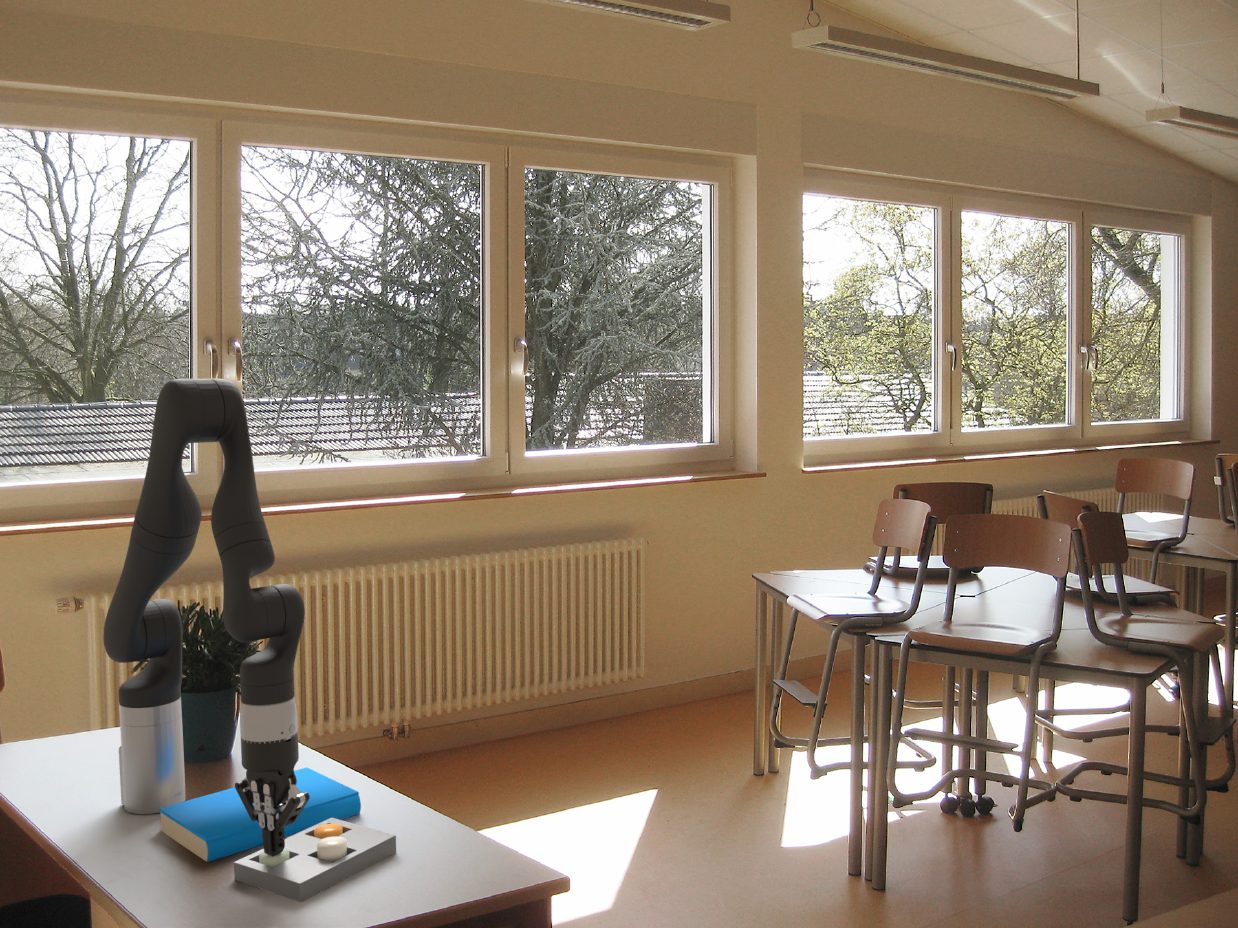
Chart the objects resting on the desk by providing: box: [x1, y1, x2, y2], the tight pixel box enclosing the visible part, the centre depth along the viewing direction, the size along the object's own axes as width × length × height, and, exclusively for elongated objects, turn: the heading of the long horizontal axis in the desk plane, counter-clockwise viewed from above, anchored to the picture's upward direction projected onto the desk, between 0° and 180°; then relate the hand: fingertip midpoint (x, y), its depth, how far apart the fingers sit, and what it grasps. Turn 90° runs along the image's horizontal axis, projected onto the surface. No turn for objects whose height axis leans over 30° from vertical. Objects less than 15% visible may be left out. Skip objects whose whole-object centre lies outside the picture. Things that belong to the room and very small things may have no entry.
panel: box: [233, 818, 397, 902], centre depth 160 cm, size 13×18×2 cm
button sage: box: [259, 849, 290, 867], centre depth 157 cm, size 4×4×2 cm
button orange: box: [314, 824, 343, 839], centre depth 166 cm, size 4×4×2 cm
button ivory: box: [317, 837, 347, 863], centre depth 158 cm, size 4×4×2 cm
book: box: [159, 767, 362, 863], centre depth 176 cm, size 17×4×25 cm
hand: (274, 853), depth 157 cm, fingers closed
